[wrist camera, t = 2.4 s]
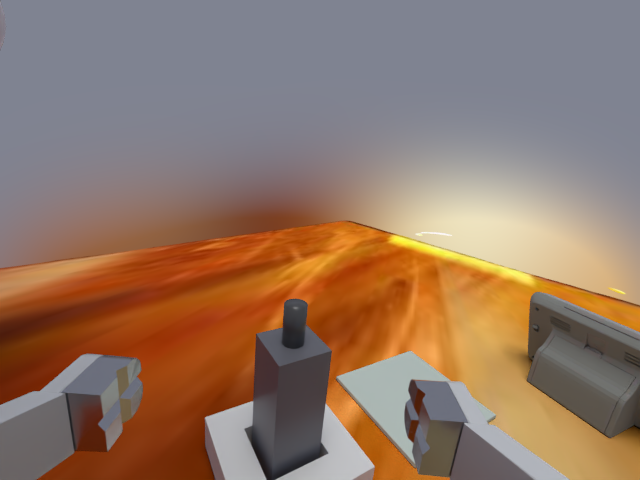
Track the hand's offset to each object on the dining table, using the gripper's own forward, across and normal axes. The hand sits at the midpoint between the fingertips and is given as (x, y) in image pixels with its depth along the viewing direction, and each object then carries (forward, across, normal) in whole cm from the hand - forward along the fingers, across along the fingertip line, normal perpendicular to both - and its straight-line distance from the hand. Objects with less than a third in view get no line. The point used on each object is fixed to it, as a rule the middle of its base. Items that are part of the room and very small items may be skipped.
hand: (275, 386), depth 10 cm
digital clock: (+24, -34, +19) cm, 46 cm away
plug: (+12, 0, +18) cm, 22 cm away
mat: (+22, -13, +19) cm, 31 cm away
